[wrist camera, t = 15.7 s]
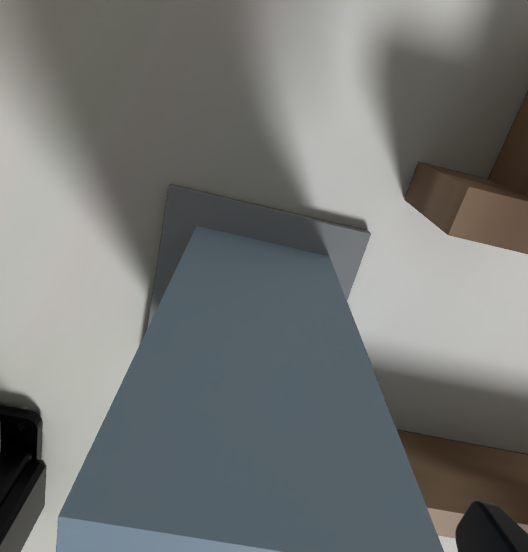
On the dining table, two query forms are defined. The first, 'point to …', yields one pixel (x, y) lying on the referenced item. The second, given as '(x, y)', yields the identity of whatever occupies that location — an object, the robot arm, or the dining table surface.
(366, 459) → the slate block
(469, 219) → the brown angular open frame
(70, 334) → the dining table surface
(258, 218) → the grey mat
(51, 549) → the dining table surface
